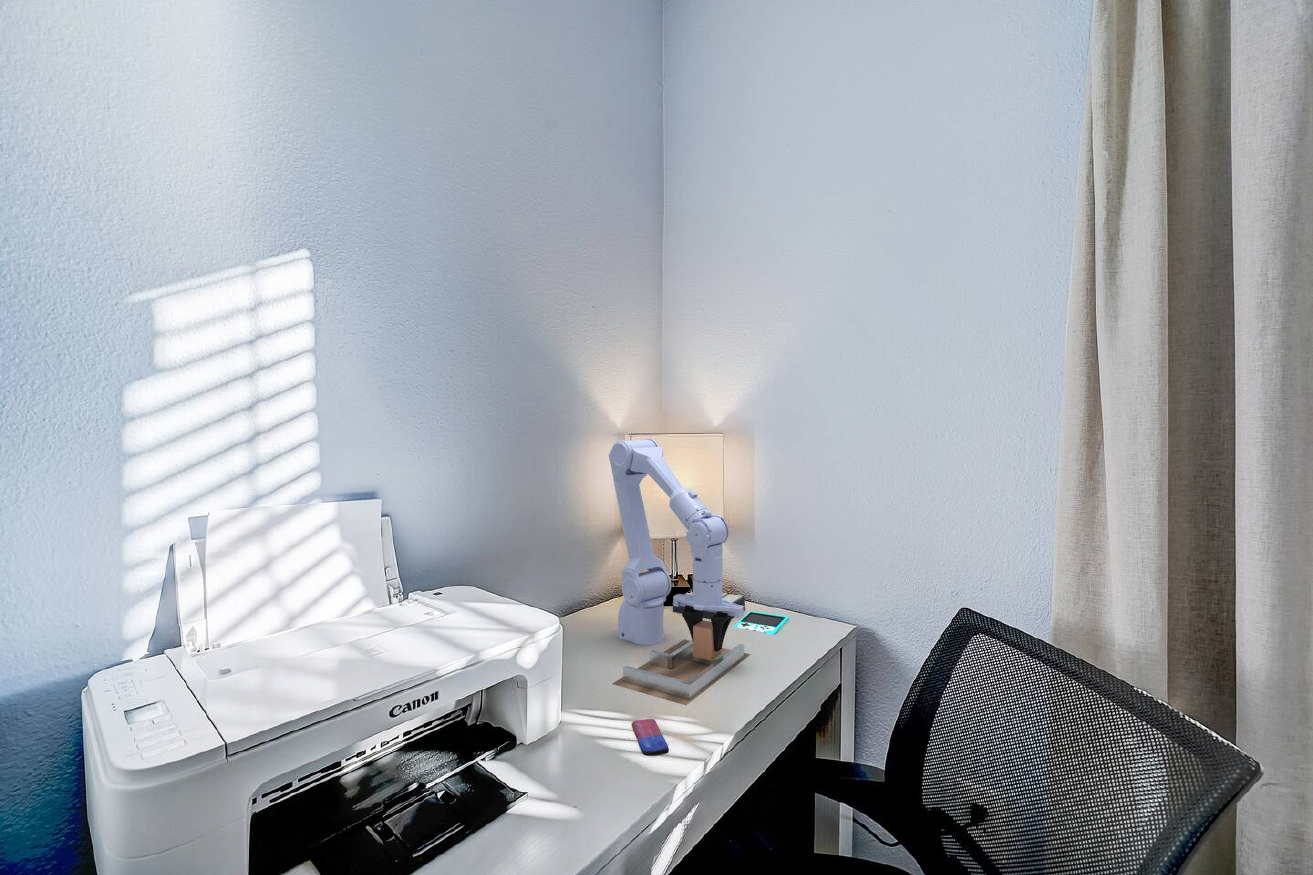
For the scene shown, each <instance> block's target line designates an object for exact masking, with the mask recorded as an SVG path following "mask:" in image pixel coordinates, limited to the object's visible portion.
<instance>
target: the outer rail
mask: <svg viewBox="0 0 1313 875" xmlns="http://www.w3.org/2000/svg"><path fill="white" fill-rule="evenodd" d="M744 653H745V644H742V643H738V644H737V645H736V646H734V647H733V648H731V649H730V651H729V652H728V653H726V654H725V655H724V656H722V657H721V658H719V659H718V660H717V661H715V662H714V663H713V664H711V665H710V666H708V667H707V668H706V669H704V670H703V671H702V672H700V673H699V674H698V675H696V676H695V677H693V678H692V679H691V680H689V681H688V682H686V681H682V680H679V679H675V678H671V677H667V676H663V675H660V674H656V673H652V672H648V671H645V670H641V669H637V668H638V667H633V666H628V665H624V666H623V667H622V677H623V681H625V682H629V683H632V684H636V685H639V686H643V687H646V688H650V689H653V690H657V691H661V692H664V693H668V694H671V695H675V696H678V697H682V698H685V699H689V700H690V699H691V698H692V697H694V696H695V695H696V694H698V693H699V692H700V691H701V690H703V689H704V688H705V687H707V686H708V685H709V684H710V683H712V682H713V681H714V680H715V679H717V678H718V677H719V676H721V675H722V674H723V673H724V672H726V671H727V670H728V669H729V668H731V667H732V666H733V665H735V664H736V663H737V662H738V661H740V660H741V659H742V658H744Z"/></svg>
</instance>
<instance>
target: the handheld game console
mask: <svg viewBox="0 0 1313 875" xmlns="http://www.w3.org/2000/svg"><path fill="white" fill-rule="evenodd" d="M789 620H790V619H789V616H787V615H781V614H780V615H779V614H774V613H768V612H760V611H752V610H750V611H748V612H747V613H746V614H745V615H744V616H742V617H741V618H740V620H738V621H737V622H736V623H735V624H734V625H733V626H732V627H735V628H738V629H744V630H749V631H752V632H753V631H754V632H759V633H763V634H769V635H774V636H775V634H776V633H777V632H780V631H781V629H782V628H783V627H784V626H785V625H786V624H787V623H788V621H789ZM785 623H786V624H785ZM784 624H785V625H784ZM783 625H784V626H783ZM782 626H783V627H782ZM777 634H778V633H777ZM777 634H776V635H777Z"/></svg>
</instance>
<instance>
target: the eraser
mask: <svg viewBox="0 0 1313 875" xmlns="http://www.w3.org/2000/svg"><path fill="white" fill-rule="evenodd" d="M631 728H632V730H633V733H634V735H635V736H636V740H637V743H638V746H639V749H640V751H641V753H642V754H643V755H645V756H655V755H661V754H668V753H669V750H670V748H669V746H668V743H667V742H666V739H665V738H664V735H663V734H662V732H661V729H660V728H659V725H658V723H657V722H656V720H655V719H654V718H644V719H643V718H642V719H638V720H634V721H632V722H631Z"/></svg>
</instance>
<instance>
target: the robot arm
mask: <svg viewBox="0 0 1313 875" xmlns="http://www.w3.org/2000/svg"><path fill="white" fill-rule="evenodd" d="M608 460H609V462H610V468H611V473H612V477H613V485H614V491H615V495H616V499H617V500H616V501H617V506H618V509H619V514H620V519H621V520H620V521H621V526H622V530H623V535H624V540H625V545H626V549H627V553H628V559H629V560H628V561H627V563H626V564H625V566H624V567H623V568H622V569H621V578H622V581H621V582H622V583H621V592H622V596H623V598H624V600H623V601H622V603H621V604H620V606H619V610H618V615H617V618H618V619H617V620H618V621H617V622H618V625H617V626H618V629H617V630H618V632H617V633H618V639H620V640H623V641H628V642H631V643H633V644H636V645H640V646H654V645H658V644H660V643H661V644H662V642H663V641H664V637H665V636H664V634H665V633H664V628H665V627H664V624H665V623H664V622H665V621H664V618H665V616H664V614H665V613H664V611H665V610H664V609H665V608H664V602H666V601H667V596H668V595H669V594H670V593H671V591H672V579H671V577H670V575H669V573H668V572H667V569H666V565H665V562H664V561H663V560H662V559H661V558H659V557H657V556H656V555H655V554H654V549H653V543H652V538H651V534H650V530H649V525H648V520H647V515H646V510H645V506H644V502H643V496H642V493H641V487H640V484H641V482H642V481H643V479H644V478H645V477H646V476H647V475H649V476H650V478H651V479H652V480H653V481H654V482H655V483H656V484H657V485H658V487H659V488H660V489H661V490H662V491H663V492H664V494H666V496H667V497H668V498H669V505H668V506H669V508H670V509H671V511H672V512H673V514H675V516H676V517H677V518H678V520H679V521H680V522H681V524H682V525H683V526H684V528H685V529H686V532H685V534H686V539H687V542H688V543H689V545H690V554H691V556H692V590H693V596H692V595H685V594H680V593H677V594H675V595H674V596H673V597H672V598H673V601H672V607H673V606H677V607H678V606H683V607H685V609H684V611H683V612H682V614H681V617H682V618H683V620H684V621H685V623H686V626H687V628H688V630H689V634H690V637H691V641H693V626H694V625H696V624H698V623H699V622H701V621H703V620H704V617H703V614H704V611H709V612H714V613H716V615H714V616H713V617H711V619H710V622H712V627H713V634H714V651H716V652H718V651H719V650H721V649H722V648H723V645H724V641H725V640H724V639H725V636H726V633H727V630H728V628H729V626H730V624H731V621H732V620H733V619H742V618H743V617H744V616H745V615H744V612H745V611H744V606H741V605H737V604H734V603H731V602H728V601H725V600H722V593H723V544H725V543H726V542H727V541H728V538H729V534H730V530H729V529H730V528H729V527H728V524H727V522H726V520H725V518H724V517H723V516H721V515H719V514H714V512H712V511H711V510H710V509H709V508H707V506H706V505H705V504H704V503H703V501H702V500H701V498H700V497H699V496H698V493H697V491H696V490H693V489H691V488H686V487H685V488H684V487H683V485H682V484H681V482H680V481H679V479H678V478H677V476H676V475H675V473H674V472H673V470H672V469H671V467H670V466H669V465H668V463H667V462H666V460H665V458H664V449H662V447H660V446H659V444H658V442H657V441H656V440H655V439H652V438H646V439H636V440H635V439H634V440H622V439H619V440H616V441H615V443H613V445H612V447H611V449H610V451H609V453H608ZM645 570H647V571H645ZM642 571H643V572H642ZM733 616H734V618H733ZM732 618H733V619H732Z"/></svg>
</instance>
